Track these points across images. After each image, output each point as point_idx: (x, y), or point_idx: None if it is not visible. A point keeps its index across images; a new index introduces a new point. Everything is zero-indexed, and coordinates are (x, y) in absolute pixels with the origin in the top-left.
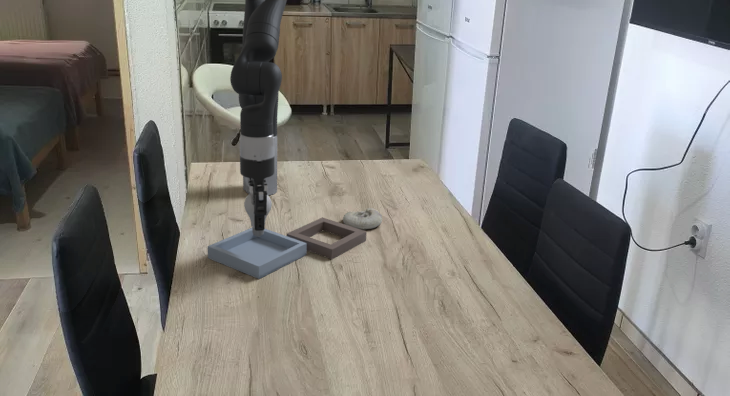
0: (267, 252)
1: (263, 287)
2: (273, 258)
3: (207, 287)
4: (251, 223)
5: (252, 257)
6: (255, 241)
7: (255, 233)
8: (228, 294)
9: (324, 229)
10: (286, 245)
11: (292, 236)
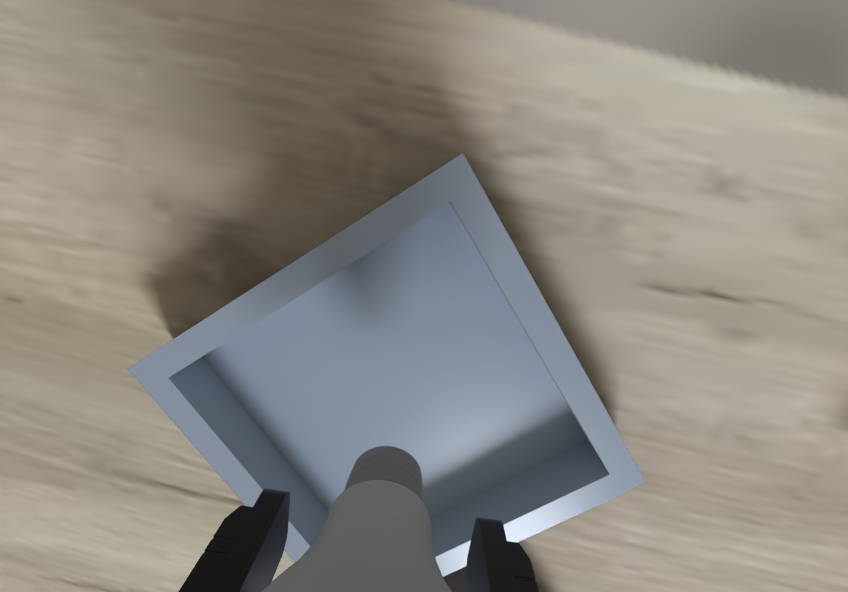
0: (403, 440)
1: (95, 339)
2: (211, 453)
3: (125, 91)
4: (367, 497)
5: (368, 367)
6: (542, 423)
7: (355, 464)
8: (43, 178)
9: None
10: None
11: None
